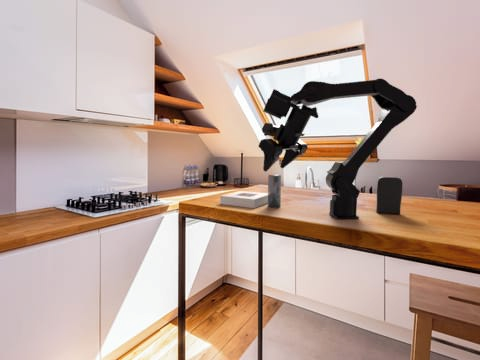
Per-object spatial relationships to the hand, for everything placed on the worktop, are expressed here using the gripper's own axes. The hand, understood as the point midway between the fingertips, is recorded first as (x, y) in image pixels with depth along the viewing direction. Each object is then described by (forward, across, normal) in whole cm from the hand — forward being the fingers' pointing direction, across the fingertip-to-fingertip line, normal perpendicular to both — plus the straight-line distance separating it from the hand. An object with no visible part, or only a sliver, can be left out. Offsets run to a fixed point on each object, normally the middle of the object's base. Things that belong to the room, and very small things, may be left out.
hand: (273, 169), depth 87 cm
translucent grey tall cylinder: (+14, -5, +4) cm, 15 cm away
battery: (-2, -21, +32) cm, 38 cm away
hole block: (+19, -3, -6) cm, 20 cm away
